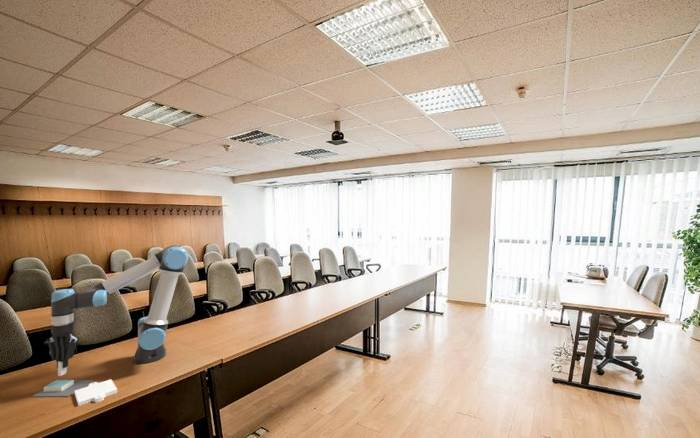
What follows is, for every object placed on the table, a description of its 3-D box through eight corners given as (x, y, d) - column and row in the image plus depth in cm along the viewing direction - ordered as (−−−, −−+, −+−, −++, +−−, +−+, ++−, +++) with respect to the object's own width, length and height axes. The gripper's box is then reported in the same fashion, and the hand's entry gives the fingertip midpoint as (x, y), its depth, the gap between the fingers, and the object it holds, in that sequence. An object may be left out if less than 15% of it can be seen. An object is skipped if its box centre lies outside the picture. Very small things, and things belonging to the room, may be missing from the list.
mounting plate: (118, 395, 131) (118, 391, 131) (79, 409, 121) (79, 405, 121) (110, 381, 143) (110, 377, 143) (73, 392, 133) (73, 388, 133)
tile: (73, 379, 139) (56, 379, 139) (61, 386, 133) (43, 386, 133) (73, 384, 139) (56, 384, 139) (61, 391, 133) (43, 391, 133)
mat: (93, 380, 142) (93, 379, 142) (68, 396, 129) (68, 395, 129) (60, 380, 142) (60, 380, 142) (31, 396, 129) (31, 396, 129)
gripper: (84, 320, 140) (83, 370, 140) (56, 320, 140) (56, 370, 140) (69, 326, 132) (68, 378, 132) (40, 326, 132) (39, 378, 132)
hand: (62, 374), depth 136 cm, fingers closed
